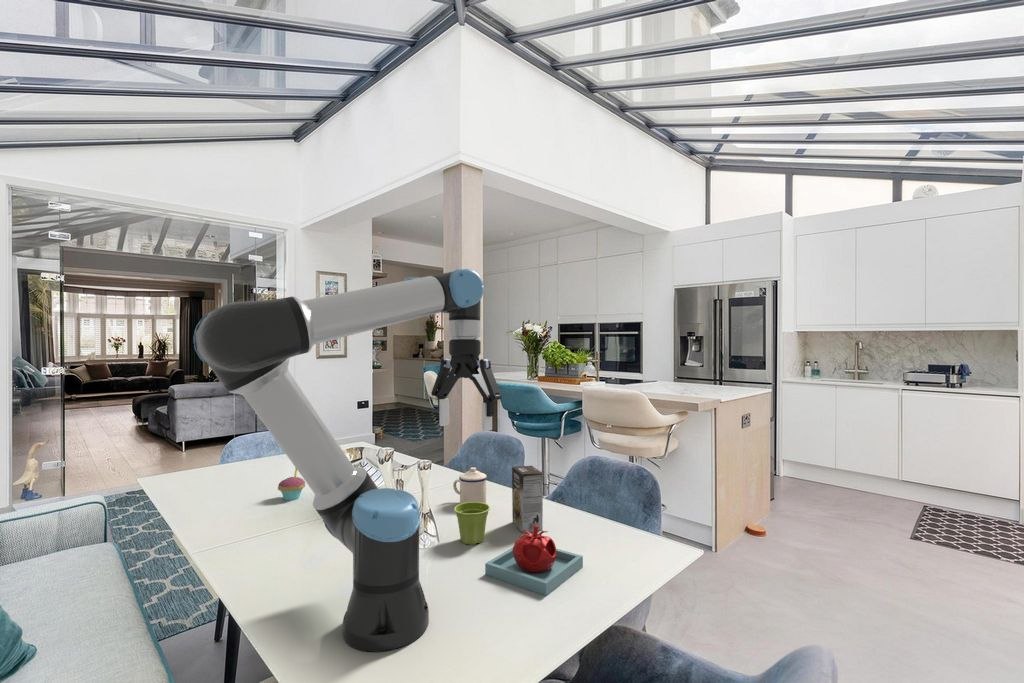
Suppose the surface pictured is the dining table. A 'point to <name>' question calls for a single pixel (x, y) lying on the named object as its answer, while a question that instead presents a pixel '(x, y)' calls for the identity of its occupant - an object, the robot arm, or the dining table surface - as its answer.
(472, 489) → the teacup with lid
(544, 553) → the pomegranate
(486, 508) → the plant pot
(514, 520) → the coffee box
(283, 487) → the cupcake
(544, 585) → the dish
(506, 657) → the dining table surface
